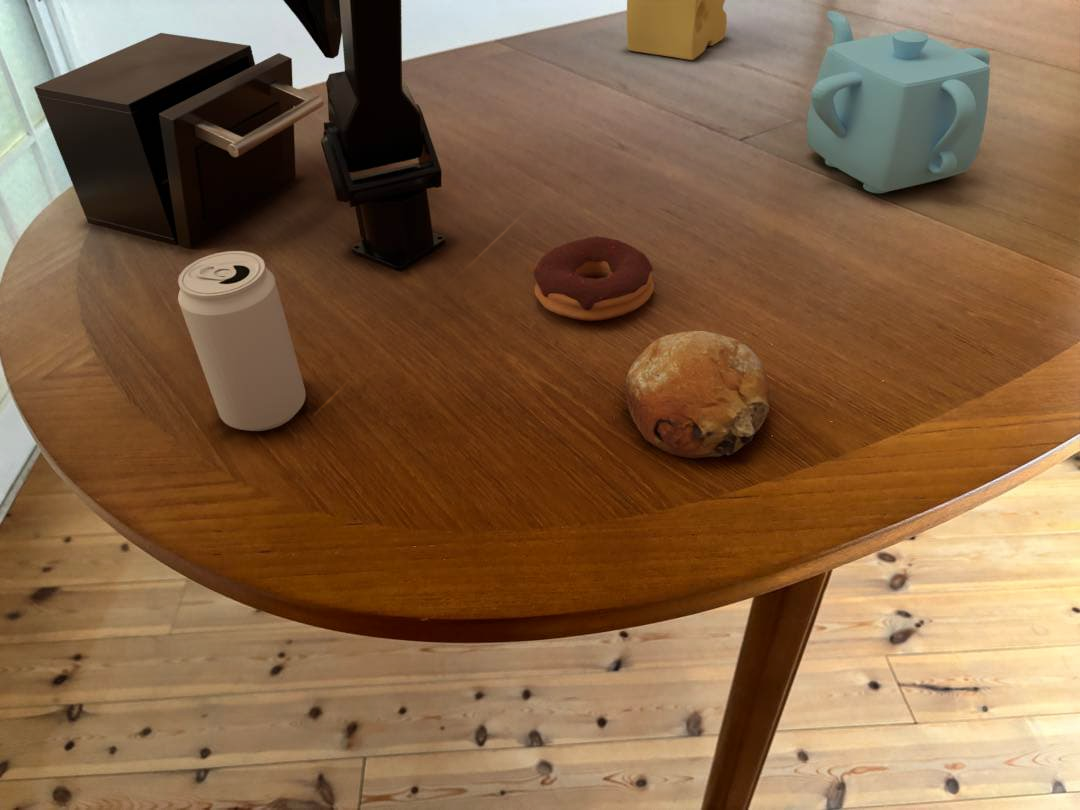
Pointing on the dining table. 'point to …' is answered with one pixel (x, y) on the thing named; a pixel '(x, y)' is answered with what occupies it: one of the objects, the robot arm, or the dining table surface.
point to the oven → (131, 125)
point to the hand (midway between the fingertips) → (332, 56)
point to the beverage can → (242, 339)
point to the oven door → (232, 147)
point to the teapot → (898, 107)
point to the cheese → (675, 26)
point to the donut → (609, 294)
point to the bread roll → (698, 394)
